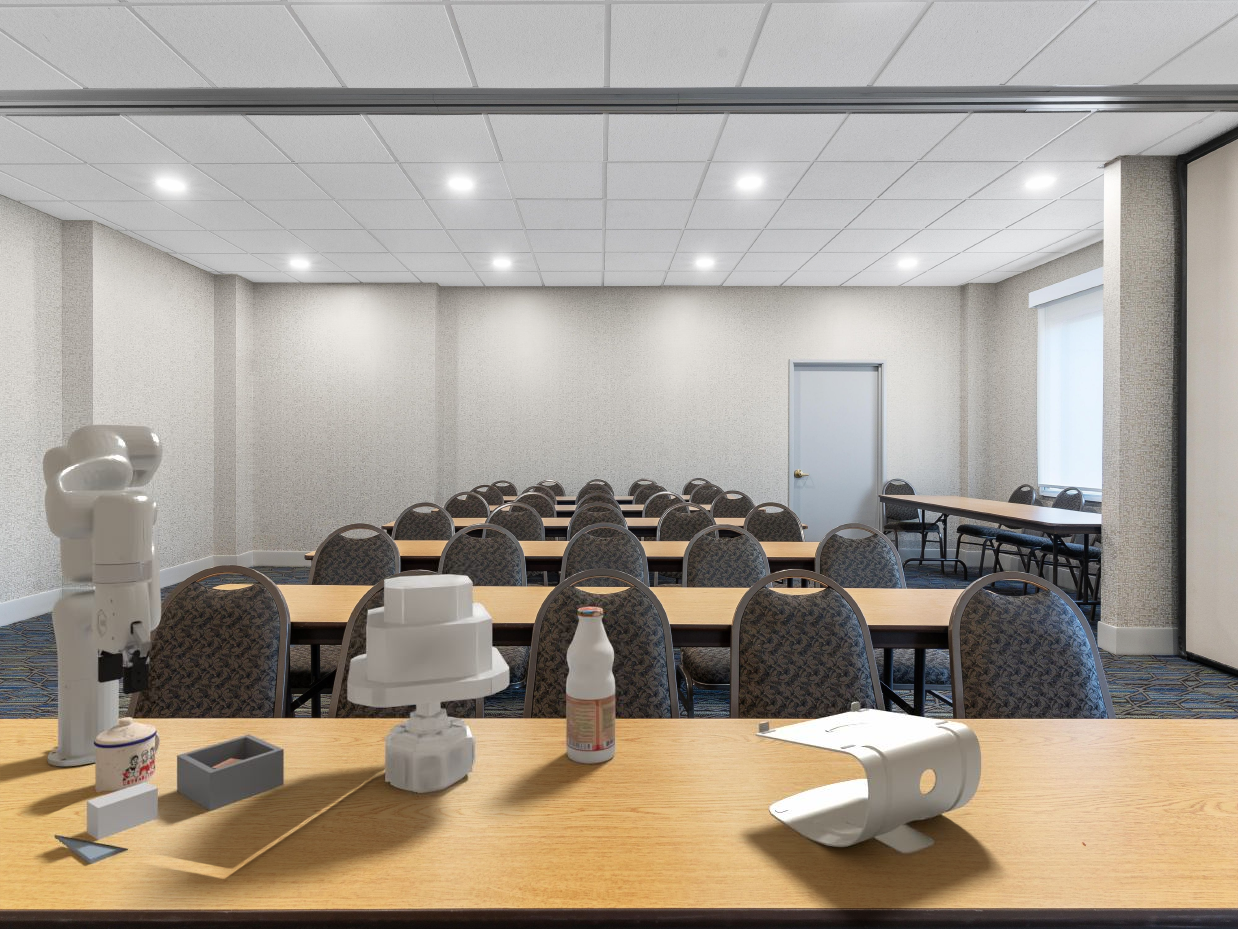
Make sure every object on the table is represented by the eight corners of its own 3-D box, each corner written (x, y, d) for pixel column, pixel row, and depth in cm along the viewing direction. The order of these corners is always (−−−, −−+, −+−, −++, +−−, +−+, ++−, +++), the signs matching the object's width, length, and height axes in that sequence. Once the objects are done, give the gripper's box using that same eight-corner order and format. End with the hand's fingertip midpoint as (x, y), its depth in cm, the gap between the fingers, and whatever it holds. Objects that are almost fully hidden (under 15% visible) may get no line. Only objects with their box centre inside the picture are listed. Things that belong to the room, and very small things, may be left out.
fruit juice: (570, 767, 133) (569, 614, 134) (563, 747, 143) (562, 605, 143) (620, 762, 135) (619, 612, 136) (609, 743, 145) (609, 603, 145)
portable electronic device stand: (864, 878, 97) (863, 762, 97) (752, 806, 118) (751, 710, 118) (986, 832, 109) (985, 728, 109) (865, 774, 130) (864, 687, 130)
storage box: (177, 797, 122) (177, 755, 122) (248, 773, 131) (248, 734, 131) (210, 817, 115) (210, 773, 115) (283, 790, 124) (283, 749, 124)
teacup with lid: (128, 798, 121) (128, 728, 121) (79, 795, 123) (80, 726, 123) (180, 769, 133) (180, 705, 133) (135, 766, 134) (135, 703, 134)
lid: (54, 841, 108) (54, 799, 108) (150, 807, 119) (150, 769, 119) (90, 867, 101) (90, 823, 101) (188, 829, 112) (188, 789, 112)
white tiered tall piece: (351, 758, 138) (351, 574, 138) (493, 741, 146) (492, 568, 146) (344, 824, 112) (344, 597, 113) (516, 798, 121) (515, 588, 121)
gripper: (73, 571, 113) (73, 682, 112) (116, 582, 102) (116, 703, 102) (128, 566, 119) (128, 671, 119) (174, 575, 108) (174, 690, 108)
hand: (122, 686), depth 110 cm, fingers open, 9 cm apart
